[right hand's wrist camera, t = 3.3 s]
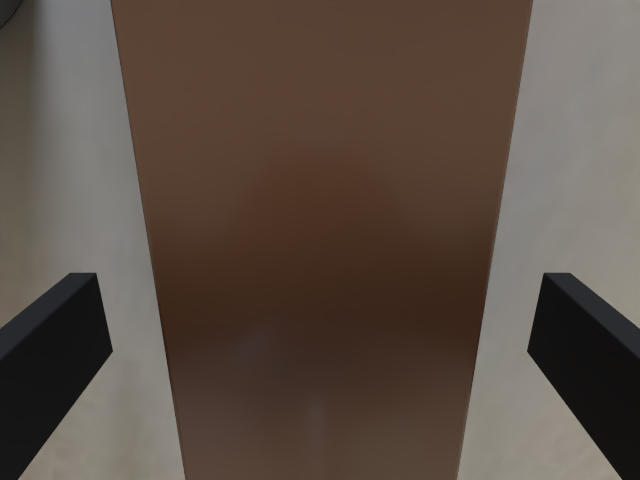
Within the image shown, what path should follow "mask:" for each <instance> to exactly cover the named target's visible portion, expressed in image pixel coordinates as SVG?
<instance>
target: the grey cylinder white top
mask: <svg viewBox="0 0 640 480" xmlns="http://www.w3.org/2000/svg"><path fill="white" fill-rule="evenodd" d="M20 2H21V0H0V27H1V26H2V25H3V24H4V23H5V22H6V21H7V20H8V19H9V18H10V17H11V16H12V14H13V13H14V11H15V10H16V8H17V7H18V5H19V4H20Z"/></svg>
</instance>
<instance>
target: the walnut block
mask: <svg viewBox="0 0 640 480" xmlns="http://www.w3.org/2000/svg"><path fill="white" fill-rule="evenodd" d="M110 1H111V7H112V14H113V20H114V26H115V33H116V39H117V46H118V52H119V58H120V65H121V71H122V77H123V84H124V90H125V97H126V103H127V109H128V116H129V122H130V129H131V135H132V141H133V148H134V154H135V161H136V167H137V173H138V180H139V186H140V193H141V199H142V205H143V212H144V218H145V224H146V231H147V237H148V244H149V250H150V256H151V263H152V269H153V276H154V282H155V288H156V295H157V301H158V308H159V314H160V320H161V327H162V333H163V339H164V346H165V352H166V359H167V365H168V371H169V378H170V384H171V391H172V397H173V403H174V410H175V416H176V423H177V429H178V435H179V442H180V448H181V454H182V461H183V467H184V474H185V480H457V476H458V470H459V463H460V457H461V451H462V445H463V438H464V432H465V426H466V419H467V413H468V407H469V401H470V394H471V388H472V382H473V375H474V369H475V363H476V357H477V350H478V344H479V338H480V331H481V325H482V319H483V313H484V306H485V300H486V294H487V287H488V281H489V275H490V269H491V262H492V256H493V250H494V243H495V237H496V231H497V225H498V218H499V212H500V206H501V199H502V193H503V187H504V181H505V174H506V168H507V162H508V155H509V149H510V143H511V137H512V130H513V124H514V118H515V111H516V105H517V99H518V93H519V86H520V80H521V74H522V67H523V61H524V55H525V49H526V42H527V36H528V30H529V23H530V17H531V11H532V5H533V0H110Z"/></svg>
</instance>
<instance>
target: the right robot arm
mask: <svg viewBox="0 0 640 480" xmlns="http://www.w3.org/2000/svg"><path fill="white" fill-rule="evenodd" d="M112 352H113V349H112V345H111V340H110V335H109V331H108V326H107V321H106V317H105V312H104V307H103V302H102V298H101V293H100V288H99V284H98V279H97V274H96V273H69V274H68V275H67V276H66V277H64V278H63V279H62V280H61V281H59V282H58V283H57V284H56V285H54V286H53V287H52V288H51V289H49V290H48V291H47V292H46V293H44V294H43V295H42V296H41V297H39V298H38V299H37V300H36V301H34V302H33V303H32V304H31V305H29V306H28V307H27V308H26V309H24V310H23V311H22V312H21V313H19V314H18V315H17V316H16V317H14V318H13V319H12V320H11V321H9V322H8V323H7V324H6V325H4V326H3V327H2V328H1V329H0V480H18V479H19V477H20V476H21V475H22V473H23V472H24V471H25V469H26V468H27V467H28V465H29V464H30V462H31V461H32V460H33V458H34V457H35V456H36V454H37V453H38V452H39V450H40V449H41V448H42V446H43V445H44V444H45V442H46V441H47V440H48V438H49V437H50V436H51V434H52V433H53V431H54V430H55V429H56V427H57V426H58V425H59V423H60V422H61V421H62V419H63V418H64V417H65V415H66V414H67V413H68V411H69V410H70V409H71V407H72V406H73V405H74V403H75V402H76V400H77V399H78V398H79V396H80V395H81V394H82V392H83V391H84V390H85V388H86V387H87V386H88V384H89V383H90V382H91V380H92V379H93V378H94V376H95V375H96V374H97V372H98V371H99V369H100V368H101V367H102V365H103V364H104V363H105V361H106V360H107V359H108V357H109V356H110V355H111V353H112ZM527 352H528V353H529V355H530V356H531V357H532V359H533V360H534V361H535V363H536V364H537V365H538V367H539V368H540V369H541V371H542V372H543V374H544V375H545V376H546V378H547V379H548V380H549V382H550V383H551V384H552V386H553V387H554V388H555V390H556V391H557V392H558V394H559V395H560V396H561V398H562V399H563V400H564V402H565V403H566V405H567V406H568V407H569V409H570V410H571V411H572V413H573V414H574V415H575V417H576V418H577V419H578V421H579V422H580V423H581V425H582V426H583V427H584V429H585V430H586V431H587V433H588V434H589V436H590V437H591V438H592V440H593V441H594V442H595V444H596V445H597V446H598V448H599V449H600V450H601V452H602V453H603V454H604V456H605V457H606V458H607V460H608V461H609V462H610V464H611V465H612V467H613V468H614V469H615V471H616V472H617V473H618V475H619V476H620V477H621V479H622V480H640V329H639V328H638V327H637V326H636V325H634V324H633V323H632V322H631V321H629V320H628V319H627V318H626V317H624V316H623V315H622V314H621V313H619V312H618V311H617V310H616V309H614V308H613V307H612V306H611V305H609V304H608V303H607V302H606V301H604V300H603V299H602V298H601V297H599V296H598V295H597V294H596V293H594V292H593V291H592V290H591V289H589V288H588V287H587V286H586V285H584V284H583V283H582V282H581V281H579V280H578V279H577V278H576V277H574V276H573V275H572V274H571V273H544V274H543V279H542V284H541V288H540V293H539V298H538V302H537V307H536V312H535V317H534V321H533V326H532V331H531V335H530V340H529V345H528V349H527Z"/></svg>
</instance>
